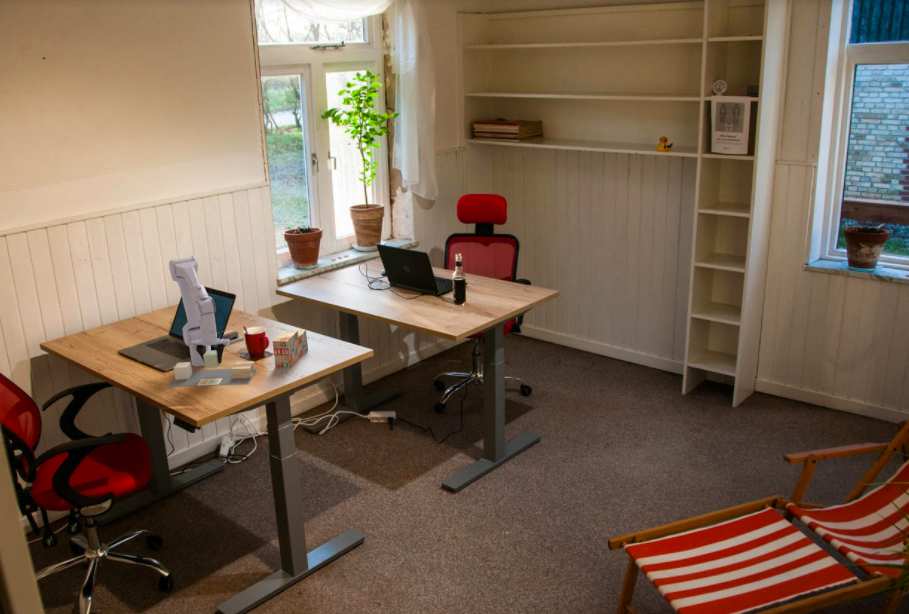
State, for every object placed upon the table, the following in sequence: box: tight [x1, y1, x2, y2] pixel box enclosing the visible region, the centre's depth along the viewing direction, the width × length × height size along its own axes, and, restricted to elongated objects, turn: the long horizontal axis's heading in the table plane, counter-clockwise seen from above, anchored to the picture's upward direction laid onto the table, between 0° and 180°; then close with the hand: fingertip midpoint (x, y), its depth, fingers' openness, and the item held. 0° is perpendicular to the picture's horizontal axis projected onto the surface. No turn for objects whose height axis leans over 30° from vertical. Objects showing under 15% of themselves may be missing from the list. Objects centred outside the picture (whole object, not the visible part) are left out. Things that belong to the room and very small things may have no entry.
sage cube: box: [203, 350, 222, 369], centre depth 301 cm, size 5×5×5 cm
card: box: [196, 378, 222, 387], centre depth 297 cm, size 6×8×1 cm
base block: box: [231, 361, 256, 379], centre depth 302 cm, size 7×7×4 cm
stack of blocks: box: [272, 329, 309, 368], centre depth 317 cm, size 21×6×12 cm, turn 171°
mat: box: [166, 367, 259, 388], centre depth 301 cm, size 16×31×1 cm, turn 90°
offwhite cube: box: [173, 361, 193, 380], centre depth 302 cm, size 5×5×5 cm
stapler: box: [222, 329, 245, 347], centre depth 339 cm, size 18×5×10 cm
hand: (212, 362), depth 301 cm, fingers closed on sage cube, 5 cm apart
